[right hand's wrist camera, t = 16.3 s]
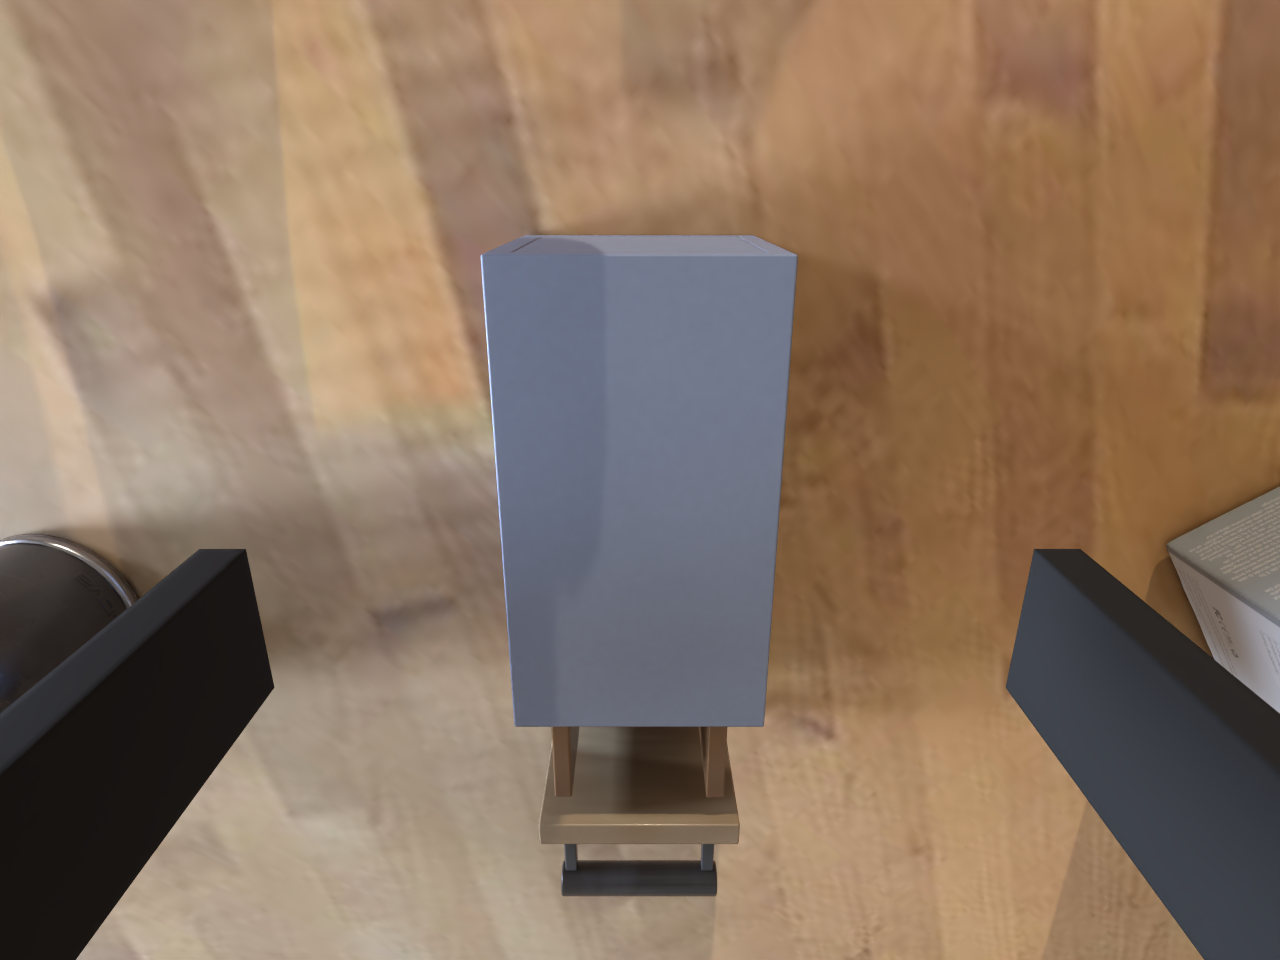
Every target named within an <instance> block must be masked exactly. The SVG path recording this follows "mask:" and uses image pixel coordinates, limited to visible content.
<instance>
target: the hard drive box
mask: <svg viewBox="0 0 1280 960" xmlns="http://www.w3.org/2000/svg"><path fill="white" fill-rule="evenodd" d="M1167 550H1168V552H1169V555H1170V557H1171V559H1172V562H1173V564H1174V566H1175V568H1176V570H1177V573H1178V575H1179V577H1180V580H1181V583H1182V586H1183V588H1184V590H1185V593H1186V595H1187V597H1188V600H1189V602H1190V604H1191V606H1192V608H1193V610H1194V613H1195V615H1196V617H1197V620H1198V622H1199V624H1200V627H1201V629H1202V632H1203V634H1204V637H1205V639H1206V641H1207V644H1208V646H1209V648H1210V650H1211V653H1212V655H1213V657H1214V660H1215V661H1217V662H1218V663H1219V664H1220V665H1221V666H1223V667H1224V668H1225V669H1226V670H1228V671H1229V672H1230V673H1231V674H1232V675H1234V676H1235V677H1236V678H1237V679H1238V680H1240V681H1241V682H1242V683H1243V684H1245V685H1246V686H1247V687H1248V688H1249V689H1251V690H1252V691H1253V692H1254V693H1255V694H1257V695H1258V696H1259V697H1260V698H1262V699H1263V700H1264V701H1265V702H1266V703H1268V704H1269V705H1270V706H1271V707H1272V708H1274V709H1275V710H1276V711H1277V712H1279V713H1280V486H1279V487H1277V488H1275V489H1273V490H1272V491H1270V492H1268V493H1266V494H1264V495H1262V496H1259V497H1257V498H1255V499H1253V500H1251V501H1249V502H1247V503H1245V504H1243V505H1241V506H1239V507H1237V508H1235V509H1233V510H1231V511H1229V512H1227V513H1225V514H1223V515H1221V516H1219V517H1217V518H1215V519H1213V520H1211V521H1209V522H1207V523H1205V524H1203V525H1202V526H1200V527H1198V528H1196V529H1194V530H1192V531H1190V532H1188V533H1186V534H1184V535H1182V536H1180V537H1178V538H1176V539H1174V540H1172V541H1170V542H1169V543H1168V544H1167Z"/></svg>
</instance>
